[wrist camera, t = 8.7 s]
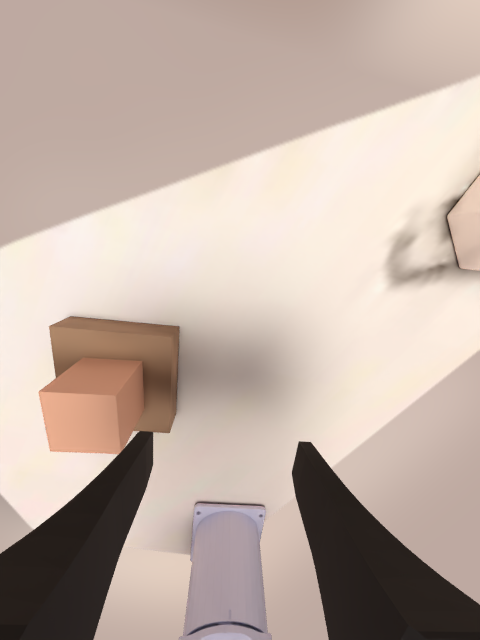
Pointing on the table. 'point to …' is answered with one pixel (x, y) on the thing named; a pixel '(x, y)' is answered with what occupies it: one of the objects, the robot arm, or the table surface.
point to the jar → (467, 227)
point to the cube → (93, 406)
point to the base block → (126, 344)
